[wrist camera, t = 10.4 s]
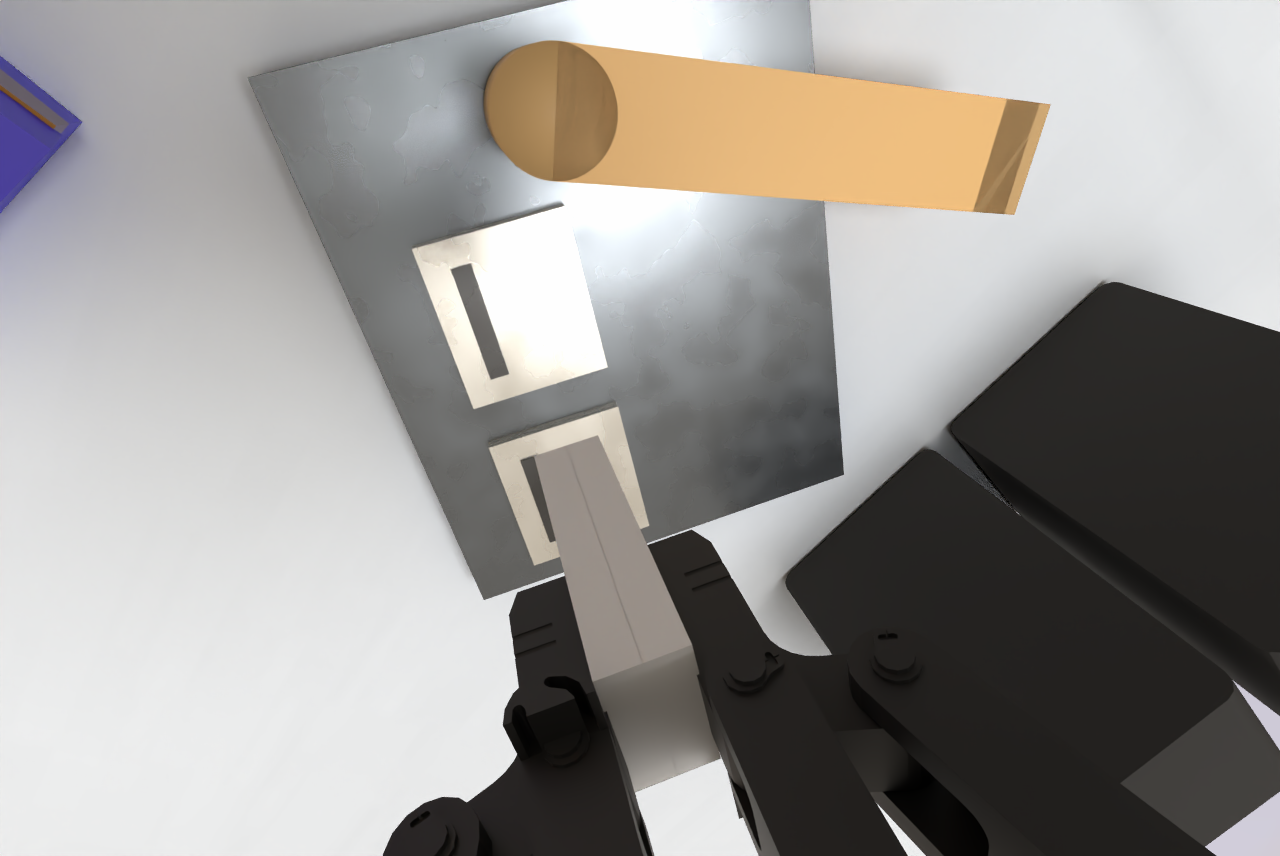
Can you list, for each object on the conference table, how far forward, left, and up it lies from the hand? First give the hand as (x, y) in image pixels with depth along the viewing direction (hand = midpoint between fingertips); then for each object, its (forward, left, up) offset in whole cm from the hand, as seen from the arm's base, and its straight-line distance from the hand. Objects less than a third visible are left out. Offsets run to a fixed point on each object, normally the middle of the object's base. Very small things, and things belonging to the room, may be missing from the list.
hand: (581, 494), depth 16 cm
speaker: (+20, +24, -17) cm, 35 cm away
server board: (+2, +4, -16) cm, 17 cm away
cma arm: (-4, +11, -13) cm, 18 cm away
